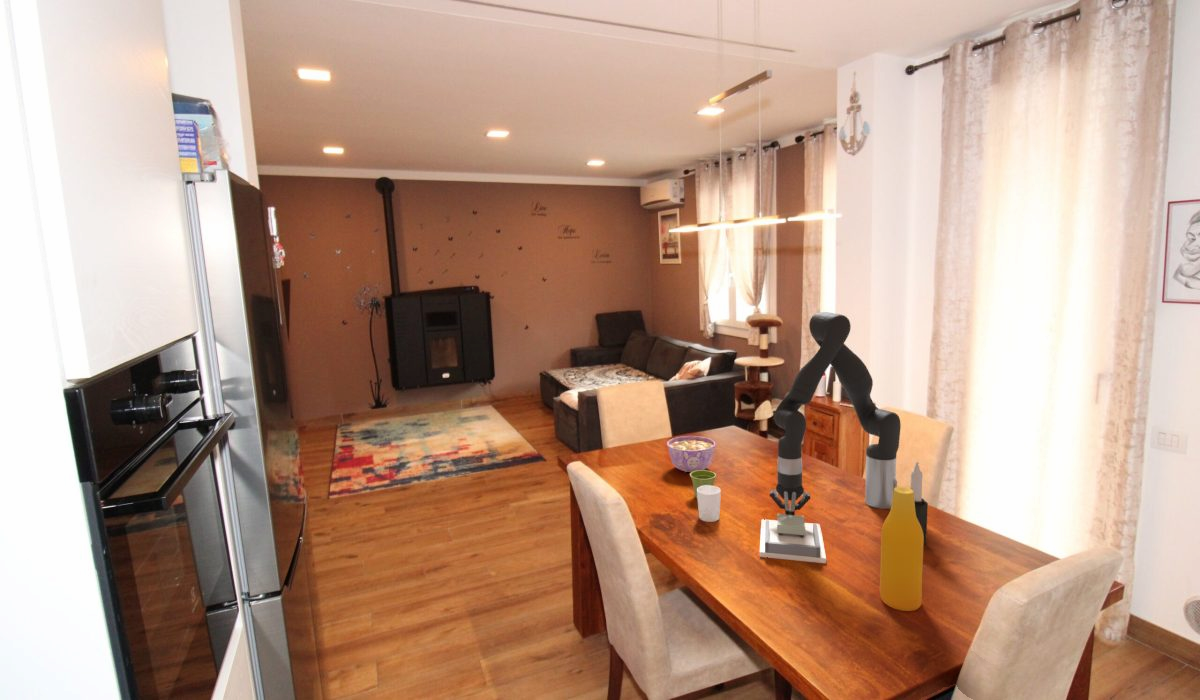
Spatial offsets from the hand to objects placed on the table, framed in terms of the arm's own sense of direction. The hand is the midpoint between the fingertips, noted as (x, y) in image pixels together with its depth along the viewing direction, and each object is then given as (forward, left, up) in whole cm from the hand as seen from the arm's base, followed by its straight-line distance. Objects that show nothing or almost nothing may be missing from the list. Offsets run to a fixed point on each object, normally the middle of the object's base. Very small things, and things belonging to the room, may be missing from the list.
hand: (789, 520), depth 183 cm
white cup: (+26, -1, -2) cm, 26 cm away
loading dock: (0, +10, -2) cm, 10 cm away
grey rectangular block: (0, +6, -1) cm, 6 cm away
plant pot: (+30, -18, -2) cm, 35 cm away
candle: (-35, +4, -2) cm, 35 cm away
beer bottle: (-25, +37, -2) cm, 45 cm away
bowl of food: (+38, -45, -2) cm, 59 cm away
